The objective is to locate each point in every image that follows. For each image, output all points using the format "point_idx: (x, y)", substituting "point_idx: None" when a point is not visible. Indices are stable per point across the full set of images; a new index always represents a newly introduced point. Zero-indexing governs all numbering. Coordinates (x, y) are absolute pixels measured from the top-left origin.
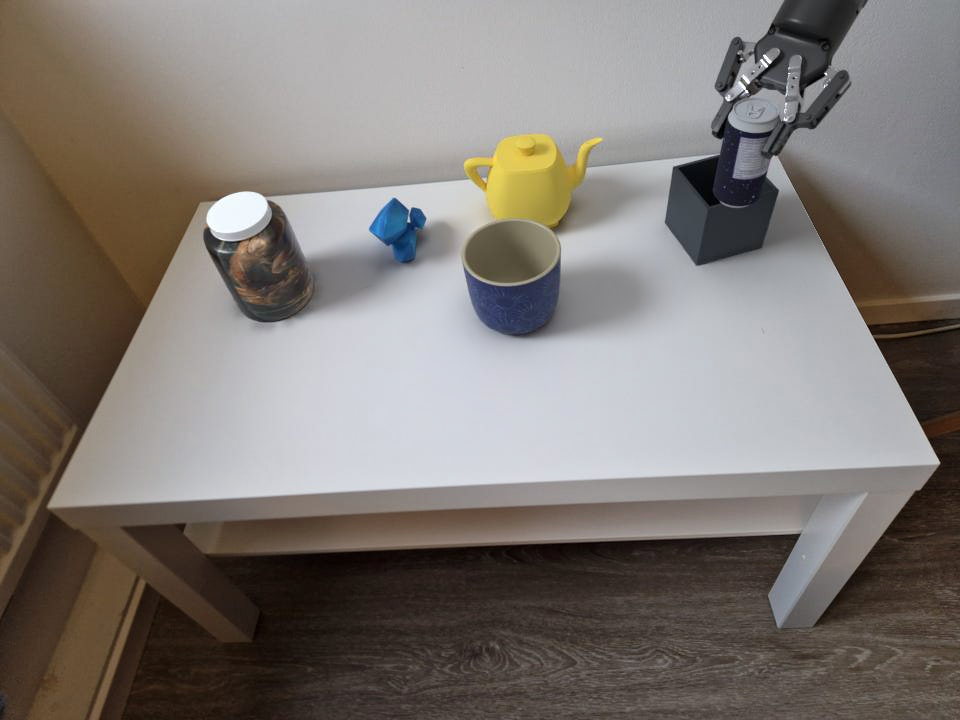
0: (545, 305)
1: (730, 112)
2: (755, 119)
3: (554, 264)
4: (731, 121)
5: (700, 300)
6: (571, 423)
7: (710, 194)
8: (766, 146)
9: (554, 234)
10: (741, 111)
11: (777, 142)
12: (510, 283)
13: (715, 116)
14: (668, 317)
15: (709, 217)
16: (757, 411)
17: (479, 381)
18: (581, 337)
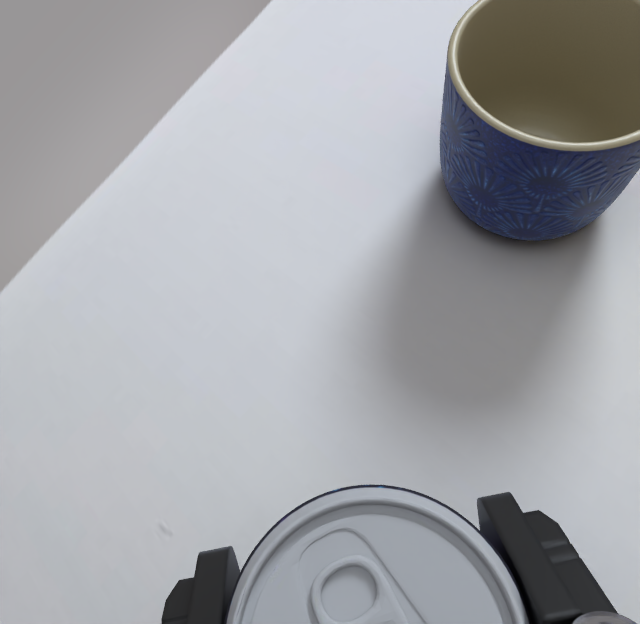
0: (442, 142)
1: (503, 570)
2: (314, 572)
3: (466, 99)
4: (424, 499)
5: (318, 489)
6: (251, 135)
7: None
8: (213, 566)
9: (563, 145)
10: (427, 567)
11: (179, 618)
12: (468, 15)
13: (573, 548)
14: (324, 397)
15: None
16: (57, 368)
17: (407, 72)
18: (387, 236)
